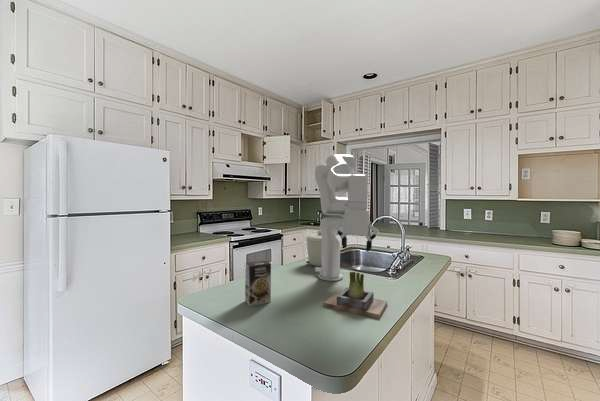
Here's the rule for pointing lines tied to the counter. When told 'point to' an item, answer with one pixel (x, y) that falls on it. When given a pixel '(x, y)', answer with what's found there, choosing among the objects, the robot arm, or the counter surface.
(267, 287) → the coffee box
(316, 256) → the canister
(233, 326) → the counter surface
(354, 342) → the counter surface
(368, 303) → the collar stand
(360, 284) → the fennel bulb
